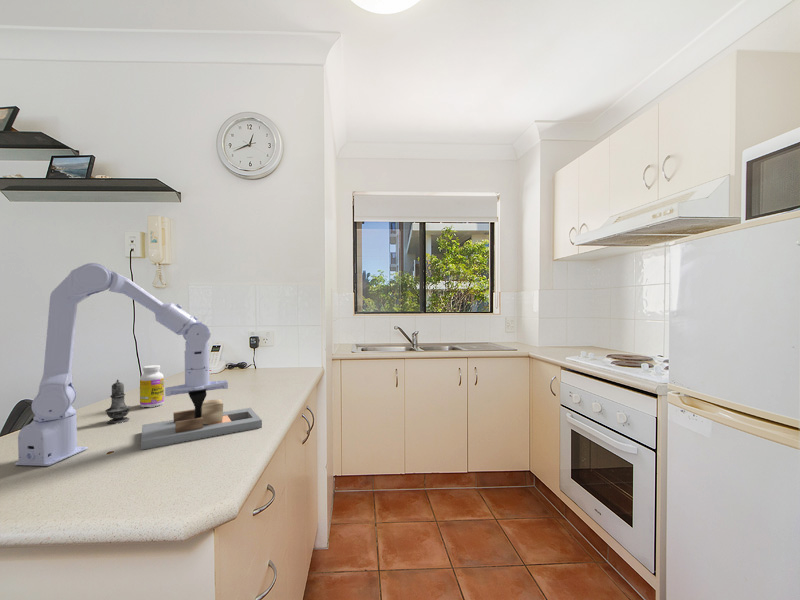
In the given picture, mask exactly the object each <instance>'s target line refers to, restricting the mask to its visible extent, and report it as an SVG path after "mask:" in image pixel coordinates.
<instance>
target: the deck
mask: <svg viewBox="0 0 800 600" xmlns="http://www.w3.org/2000/svg"><path fill="white" fill-rule="evenodd" d="M225 415H227V416H228V417H229V418H230V420H231V421H230V422H225V423H219V424H213V425H208V424H203V428H202V429H196V430H190V431H184V432H179V433H176V431H175V423H174V419H172V420H164V421H158V422H152V423H146V424H142V425H141V439H140V441H141V443H140V445H141V450H142V451H143V450H147V449H153V448H159V447H165V446H169V445H174V443H175V444H181V443H185V442H184V441H186V442H190V441H189V440H191V441H196V440H195V439H197V440H201V438H202V439H206V438H207V437H208V438H213V437H218V436H224V435H228V433H229V434H234V433H238V431H240V432H244V431H243V430H245V431H250V430H255V429H261V428H262V427H263V419H262V418H260V416H258V413H256V412H255V411H254V410H253V409H252V408H251V407H247V408H241V409H234V410H228V411H223V416H225ZM233 432H234V433H233ZM223 434H224V435H223ZM217 435H218V436H217ZM212 436H213V437H212ZM180 442H181V443H180Z"/></svg>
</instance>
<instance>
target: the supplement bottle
mask: <svg viewBox="0 0 800 600" xmlns="http://www.w3.org/2000/svg"><path fill="white" fill-rule="evenodd" d="M160 370H161V365H157V364H153V365H151V364H150V365H145V366H143V367H142V371H143V374H141V375H140V377H139V406H140V407H141V408H144V407H150V408H155V406H156V407H159V405H160V406H162V405H164V403H165V386H164V384H165V381H164V378H165V377H164V374H163V373H162V372H160Z"/></svg>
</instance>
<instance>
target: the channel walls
mask: <svg viewBox="0 0 800 600" xmlns="http://www.w3.org/2000/svg"><path fill="white" fill-rule="evenodd" d="M194 413H195V408H194V409H189V410H188V409H187V410H181V411H174V412H173V420H174V423H175V431H176V433H179V432H184V431H190V430H196V429H202V428H203V417H200V418H195V417H194Z"/></svg>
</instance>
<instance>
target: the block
mask: <svg viewBox="0 0 800 600" xmlns="http://www.w3.org/2000/svg"><path fill="white" fill-rule="evenodd" d="M200 410H201V417H203V424H212V423H221V422H222V419H223V412H224V402H223V401H222V399H220V398H219V399H210V400H209V399H208V400H207V399H205V400H204V401H203V404H202V406H201V409H200Z"/></svg>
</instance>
